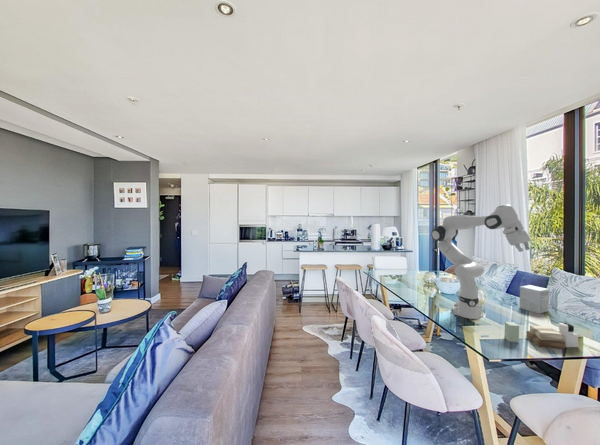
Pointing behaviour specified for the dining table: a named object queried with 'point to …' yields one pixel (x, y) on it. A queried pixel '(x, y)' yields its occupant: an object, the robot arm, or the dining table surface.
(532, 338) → the tower base
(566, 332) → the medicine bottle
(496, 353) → the dining table surface
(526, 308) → the supplement box
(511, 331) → the sage block
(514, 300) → the dining table surface
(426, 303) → the dining table surface
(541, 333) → the tower top
